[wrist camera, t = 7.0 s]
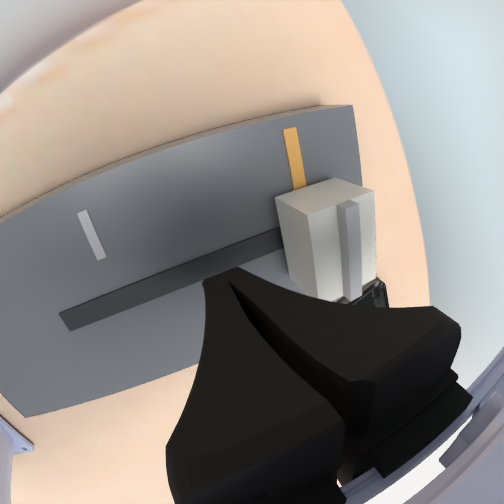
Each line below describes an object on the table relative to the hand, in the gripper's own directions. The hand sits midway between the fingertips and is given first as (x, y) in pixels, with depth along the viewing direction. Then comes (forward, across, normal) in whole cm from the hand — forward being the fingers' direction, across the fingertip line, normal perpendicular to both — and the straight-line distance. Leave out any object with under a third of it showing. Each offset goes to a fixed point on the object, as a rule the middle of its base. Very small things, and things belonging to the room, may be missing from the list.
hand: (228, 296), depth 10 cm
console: (+5, +3, 0) cm, 6 cm away
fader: (+2, -5, 0) cm, 5 cm away
